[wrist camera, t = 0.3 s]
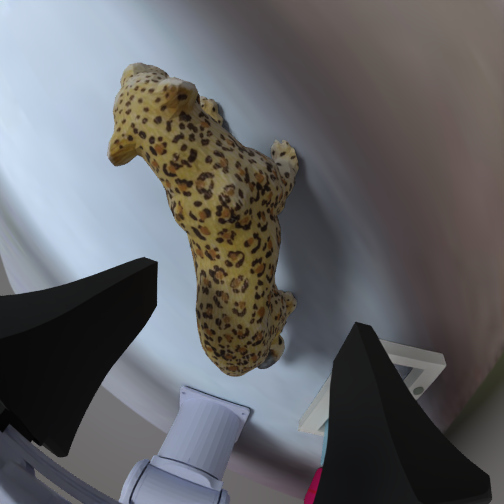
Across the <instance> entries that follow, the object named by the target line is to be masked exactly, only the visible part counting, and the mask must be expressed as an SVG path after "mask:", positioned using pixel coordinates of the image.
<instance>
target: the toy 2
mask: <svg viewBox="0 0 504 504" xmlns="http://www.w3.org/2000/svg"><path fill="white" fill-rule="evenodd" d="M321 472H322V468H318V470H317V471H316V473H315V475H314V478H313V480H312V482H311V485H310V487H309V489H308V491H307V494H306V496H305V499H304V504H313V502H314V498H315V495H316V492H317V488H318V484H319V480H320V476H321Z"/></svg>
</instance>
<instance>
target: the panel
mask: <svg viewBox="0 0 504 504" xmlns="http://www.w3.org/2000/svg"><path fill="white" fill-rule="evenodd" d="M379 340H380V342H381V343H382V345H383V347H384V349H385V351H386V352H387V354H388V356H389V358H390V359H391V361H392V363H393V364H398V365H403V366H408V367H413V369H412V370H411V372H410V373H409V374H408V375H407V377H406V378H405V379H404V380H403V381H404V383H405V384H406V386H407V388H408V389H409V391H410V392H411V394H412V395H413V397H414V398H415V400H417V399H418V398H419V397H420V396H421V395H422V394H423V393H424V392H425V390H426V389H427V388H428V387H429V386H430V385H431V384H432V383H433V381H434V380H435V379H436V378H437V377H438V376H439V374H440V373H441V372H442V371H443V370H444V368H445V367H446V366H447V365H446V362H445V359H444V356H443V354H442V353H437V352H432V351H428V350H423V349H419V348H415V347H410V346H406V345H402V344H397V343H393V342H389V341H385V340H381V339H379ZM331 375H332V373H331V374H330V376H329V378H328V379H327V381H326V382H325V384H324V385H323V387H322V388H321V390H320V391H319V393H318V394H317V396H316V397H315V399H314V400H313V402H312V403H311V405H310V406H309V407H308V409H307V410H306V412H305V413H304V414H303V416H302V417H301V419H300V421H299V426H298V431H301V432H306V433H311V434H316V435H321V436H324V431H325V422H326V420H327V419H328V418H329V396H330V382H331Z"/></svg>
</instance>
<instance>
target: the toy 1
mask: <svg viewBox="0 0 504 504" xmlns="http://www.w3.org/2000/svg"><path fill="white" fill-rule="evenodd" d="M120 83H121V87H122V88H121V89H120V91H119V92H118V94H117V95H116V97H115V102H114V108H113V115H114V122H115V125H114V133H113V135H112V137H111V139H110V142H109V145H108V152H107V156H108V158H109V160H110V161H111V163H112V164H113V165H114V166H121V165H125V164H126V163H128V162H130V161H131V160H132V159H133V158H134V157H136V156H137V155H139V156H141V157H143V159H144V160H145V161H146V162H147V164H148V165H149V166H150V168H151V169H152V170H153V172H154V173H155V174H156V176H157V177H158V178H159V180H160V181H161V182H162V184H163V186H164V188H165V190H166V195H167V199H168V204H169V207H170V209H171V211H172V214H173V216H174V218H175V221H176V222H177V223H178V225H179V226H180V227H181V228H182V229H183V230H185V231H186V232H187V235H188V239H189V243H190V247H191V251H192V256H193V261H194V266H195V272H196V278H197V301H196V317H197V326H198V333H199V337H200V341H201V344H202V347H203V349H204V351H205V353H206V355H207V356H208V357H209V359H210V360H211V361H212V362H213V363H214V364H215V365H216V366H217V367H218V368H219V369H220V370H221V371H222V372H223V373H225V374H226V375H229V376H242V375H244V374H245V373H247V372H249V371H251V370H252V369H254V368H256V367H258V368H259V369H266V368H269V367H270V366H272V365H273V364H275V363H276V362H277V361H278V360H279V359H280V357H281V356H282V354H283V352H284V349H285V345H284V340H283V338H282V337H281V335H280V333H281V332H282V330H283V327H284V325H285V324H286V319H287V318H288V316H289V315H290V314H291V313H292V312H293V311H294V310H295V308H296V305H297V300H296V299H295V298H294V297H293V295H292V293H291V292H289V291H288V292H285V293H284V292H283V291H281V290H278V289H277V286H276V284H275V272H276V267H277V262H278V255H279V248H280V243H281V228H280V224H279V220H278V217H277V215H278V214H279V213H280V212H281V211H282V210H283V209H284V207H285V201H286V198H287V197H288V196H289V195H290V193H291V191H292V189H293V187H294V185H295V175H296V174H297V171H298V169H299V166H298V160H297V157H296V154H295V150H294V148H292V147H291V146H290V145H289V143H288V142H287V141H285V140H282V142H283V143H282V144H281V143H280V142H278V141H277V140H275V141H274V144H273V145H272V146H271V157H272V159H270V158H269V157H267V156H265V155H264V154H262V153H260V152H258V151H257V150H254V149H252V148H247V147H245V146H243V145H242V144H241V143H240V142H238V141H237V140H236V139H235V138H234V137H233V136H232V135H231V134H230V133H229V132H228V131H226V130H225V129H224V128H223V127H222V124H223V118H222V117H221V116H220V115H219V114H218V104H217V103H216V102H215V101H214V100H213V99H207V98H206V97H203V96H200V95H199V94H198V91H197V89H196V87H195V85H194V84H192V83H190V82H187V81H184V80H181V79H178V78H175V77H173V78H170V77H169V75H168V74H167V73H166V72H164V71H163V70H161V69H160V68H158V67H155V66H153V65H145V64H143V63H134V64H130V65H129V66H128V67H127V68H126V69H125V70H124V72H123V75H122V78H121V81H120Z"/></svg>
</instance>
